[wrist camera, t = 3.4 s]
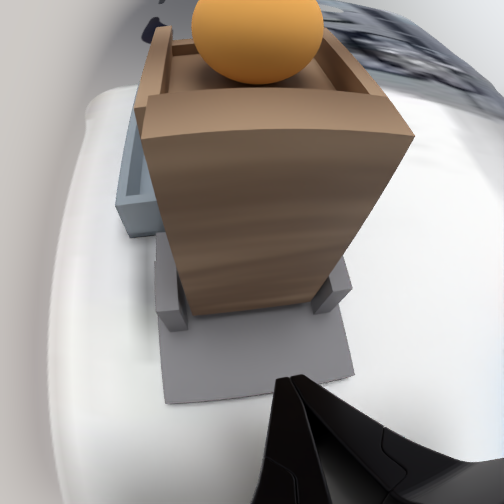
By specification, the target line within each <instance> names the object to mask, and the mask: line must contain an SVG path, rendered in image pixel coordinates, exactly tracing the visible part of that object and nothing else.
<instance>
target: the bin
mask: <svg viewBox="0 0 504 504" xmlns="http://www.w3.org/2000/svg"><path fill="white" fill-rule="evenodd" d="M139 84H140V82H139ZM139 84H138V88H139ZM138 88H137V92H138ZM137 92H136V96H137ZM136 96H135V100H136ZM135 100H134V104H135ZM134 104H133V108H132V113H131V117H130V121H129V126H128V131H127V136H126V141H125V146H124V151H123V157H122V162H121V168H120V175H119V181H118V188H117V195H116V203H115V207H116V209H117V211H118V213H119V216H120V218H121V220H122V222H123V224H124V226H125V228H126V231H127V233H128V235H129V237H130V238H133V237H143V236H152V235H156V233H161V232H165V228H164V225H163V222H162V218H161V215H160V211H159V208H158V204H157V200H156V197H155V193H154V189H153V186H152V182H151V178H150V174H149V170H148V166H147V162H146V160H145V156H144V152H143V148H142V143H141V139H140V135H139V131H138V126H137V122H136V117H135V113H134Z"/></svg>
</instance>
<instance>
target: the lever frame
mask: <svg viewBox="0 0 504 504" xmlns="http://www.w3.org/2000/svg"><path fill="white" fill-rule="evenodd" d="M154 264H155V306H156V313H157V314H158V327H159V343H160V357H161V369H162V379H163V389H164V398H165V404H176V403H191V402H203V401H214V400H223V399H232V398H240V397H247V396H255V395H261V394H268V393H274V386H275V380H276V379H277V378H282V377H289V378H290V377H291V376H293V375H299V374H303V375H305V376H307V377H308V378H310V379H311V380H313V381H314V382H316V383H317V384H321V383H326V382H330V381H334V380H339V379H343V378H347V377H350V376H353V375H355V373H354V369H353V364H352V359H351V355H350V351H349V346H348V342H347V337H346V333H345V329H344V325H343V321H342V317H341V313H340V309H339V305H338V303H339V302H340V301H341V300H342V299H343V298H344V297H345V296H346V295H347V294H348V293H349V292H350V291H351V290H352V285H351V281H350V278H349V274H348V271H347V267H346V264H345V261H344V257H343V255H342V257H341V258H340V260H339V261H338V263H337V264H336V266H335V267H334V269H333V270H332V272H331V273H330V275H329V276H328V277H327V279H326V280H325V282H324V283H323V285H322V286H321V288H320V289H319V290H318V292H317V293H316V295H315V296H314V297H313V299H312V300H311V302H305V303H298V304H291V305H283V306H276V307H268V308H260V309H252V310H244V311H235V312H226V313H216V314H207V315H197V316H193V315H192V312H191V309H190V306H189V304H188V301H187V298H186V295H185V292H184V289H183V286H182V283H181V280H180V277H179V274H178V271H177V267H176V264H175V261H174V258H173V255H172V252H171V248H170V245H169V242H168V239H167V235H166V232H161V233H156V261H154Z"/></svg>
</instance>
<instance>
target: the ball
mask: <svg viewBox="0 0 504 504" xmlns="http://www.w3.org/2000/svg"><path fill="white" fill-rule="evenodd" d="M191 28H192V36H193V40H194V43H195V46H196V48H197V51H198V52H199V54H200V55H201V57H202V58H203V60H204V61H205V62H206V63H207V64H208V65H209V66H210V67H211V68H212V69H213V70H215V71H216V72H218V73H219V74H221V75H223V76H225V77H227V78H229V79H231V80H234V81H237V82H241V83H247V84H270V83H274V82H279V81H282V80H284V79H287V78H289V77H291V76H293V75H295V74H297V73H298V72H300V71H301V70H302V69H304V68H305V67H306V66H307V65H308V64H309V63H310V62H311V60H312V59H313V58H314V56H315V55H316V53H317V51H318V49H319V47H320V45H321V42H322V38H323V30H324V24H323V17H322V13H321V10H320V8H319V5H318V3H317V2H316V0H199V1H198V3H197V5H196V7H195V10H194V13H193V17H192V27H191Z"/></svg>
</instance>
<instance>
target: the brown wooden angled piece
mask: <svg viewBox="0 0 504 504" xmlns="http://www.w3.org/2000/svg"><path fill="white" fill-rule="evenodd" d="M134 113H135V117H136V122H137V126H138V131H139V135H140V139H141V143H142V148H143V152H144V156H145V160H146V162H147V166H148V170H149V174H150V178H151V182H152V186H153V189H154V193H155V197H156V200H157V204H158V208H159V211H160V215H161V218H162V222H163V225H164V228H165V232H166V235H167V239H168V242H169V245H170V248H171V252H172V255H173V258H174V261H175V264H176V267H177V271H178V274H179V277H180V280H181V283H182V286H183V289H184V292H185V295H186V298H187V301H188V304H189V306H190V309H191V312H192V315H193V316H197V315H207V314H216V313H226V312H235V311H244V310H252V309H260V308H268V307H276V306H283V305H291V304H298V303H305V302H311V300H312V299H313V297H314V296H315V295H316V293H317V292H318V290H319V289H320V288H321V286H322V285H323V283H324V282H325V280H326V279H327V277H328V276H329V275H330V273H331V272H332V270H333V269H334V267H335V266H336V264H337V263H338V261H339V260H340V258H341V257H342V255H343V254H344V252H345V251H346V249H347V248H348V246H349V245H350V243H351V242H352V240H353V239H354V237H355V236H356V234H357V233H358V231H359V229H360V228H361V226H362V225H363V223H364V222H365V220H366V218H367V217H368V215H369V214H370V212H371V211H372V209H373V207H374V206H375V204H376V202H377V201H378V199H379V198H380V196H381V194H382V193H383V191H384V189H385V188H386V186H387V184H388V183H389V181H390V179H391V178H392V176H393V174H394V172H395V171H396V169H397V167H398V166H399V164H400V162H401V160H402V159H403V157H404V155H405V153H406V152H407V150H408V148H409V146H410V144H411V143H412V141H413V139H414V137H415V135H414V134H413V132H412V131H411V129H410V128H409V126H408V125H407V123H406V122H405V121H404V119H403V118H402V116H401V115H400V114H399V112H398V111H397V109H396V108H395V106H394V105H393V103H392V102H391V101H390V100H389V98H388V97H387V96H386V94H385V93H384V92H383V91H382V89H381V88H380V87H379V86H378V84H377V83H376V82H375V81H374V79H373V78H372V77H371V76H370V75H369V74H368V72H367V71H366V70H365V69H364V68H363V67H362V65H361V64H360V63H359V62H358V61H357V60H356V59H355V58H354V56H353V55H352V54H351V53H350V52H349V51H348V50H347V49H346V48H345V47H344V46H343V45H342V44H341V42H340V41H339V40H338V39H337V38H336V37H335V36H334V35H333V34H332V33H331V32H330V31H329V30H328V29H327V28H324V30H323V38H322V42H321V45H320V47H319V49H318V51H317V53H316V55H315V56H314V58H313V59H312V60H311V62H310V63H309V64H308V65H307V66H306V67H305V68H304V69H302V70H301V71H300V72H298V73H297V74H295V75H293V76H291V77H289V78H287V79H284V80H282V81H279V82H274V83H270V84H247V83H241V82H237V81H234V80H231V79H229V78H227V77H225V76H223V75H221V74H219V73H218V72H216V71H215V70H213V69H212V68H211V67H210V66H209V65H208V64H207V63H206V62H205V61H204V60H203V58H202V57H201V55H200V54H199V52H198V51H197V48H196V46H195V43H194V40H193V39H182V40H172V26H165V27H157V28H156V30H155V33H154V36H153V39H152V43H151V46H150V49H149V52H148V56H147V59H146V62H145V66H144V69H143V73H142V77H141V80H140V84H139V88H138V92H137V96H136V100H135V104H134Z"/></svg>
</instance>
